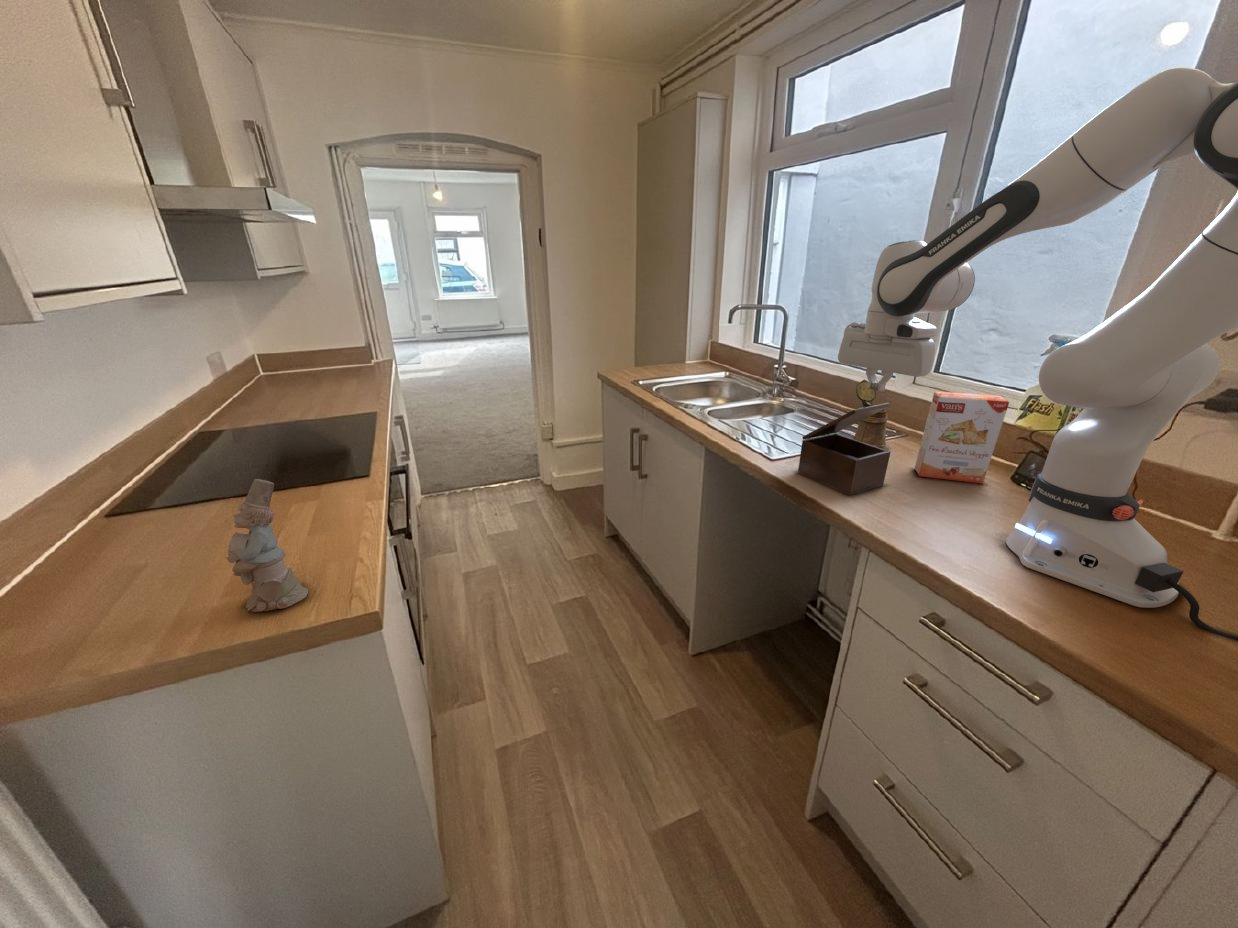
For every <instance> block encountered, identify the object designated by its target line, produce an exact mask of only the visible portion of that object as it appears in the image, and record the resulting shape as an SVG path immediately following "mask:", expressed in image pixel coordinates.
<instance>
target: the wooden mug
mask: <svg viewBox="0 0 1238 928" xmlns="http://www.w3.org/2000/svg"><path fill="white" fill-rule="evenodd" d="M868 385H869V381H868V380H866V379H862V380H861V381H859V383H858V384H857V385H856V387H855V393H856V396H857V399H859V400H860V402H861V407H860V408H865V407H870V406H873V401H874V400H875V399H876V397H877V391H876V390H872V389H868ZM888 417H889V416H888V410H887V409H883V410H881V411H879V412H877V413H875V414H873V415H871V416H869V417H867V418H865V419H863V420H861V421H859V422H858V425H857V427H856V430H855V433H854V436H853V437H852V439H855V440H858V441H861V442H864V443H867V444H870V445H873V446H876V447H879V448H882V449H884V450H887V442H886V440H887V439H886V436H887V423H888Z"/></svg>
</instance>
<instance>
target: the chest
mask: <svg viewBox="0 0 1238 928" xmlns="http://www.w3.org/2000/svg"><path fill="white" fill-rule="evenodd" d="M847 455H850V456H853V457H855V458H857V459H855V458H852V457H849V456H847ZM890 456H891V451H890V450H887V449H885V450H884V449H882V448H879V447H876V446H873V445H870V444H867V443H864V442H861V441H858V440H855V439H853V437H850V436H846V435H842V434H840V433H838V432H837V433H833V434H828V435H824V436H819V437H815V438H810V439H806V440H803V439H802V441H801V448H800V454H799V462H798V469H797V473H798V474H800V475H802V476H804V477H807V478H809V479H811V480H814V481H815V482H818V483H820V484H822V485H825V486H827V487H829V488H831V489H834V490H835V491H837V492H840V493H842V494H844V495H846V496H853V495H857V494H860V493H863V492H867V491H869V490H873V489H877V488H879V487H883V486H884V484H885V479H886V475H887V470H888V465H889V461H890Z"/></svg>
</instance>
